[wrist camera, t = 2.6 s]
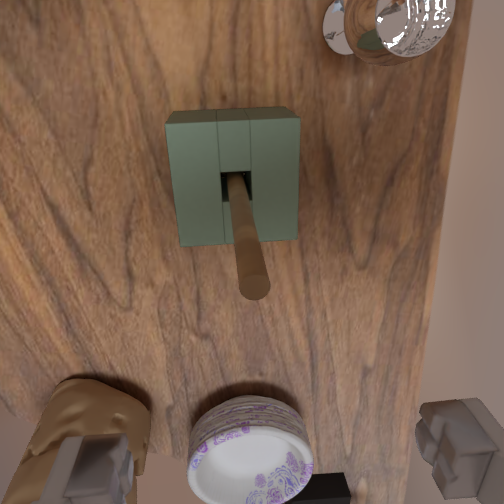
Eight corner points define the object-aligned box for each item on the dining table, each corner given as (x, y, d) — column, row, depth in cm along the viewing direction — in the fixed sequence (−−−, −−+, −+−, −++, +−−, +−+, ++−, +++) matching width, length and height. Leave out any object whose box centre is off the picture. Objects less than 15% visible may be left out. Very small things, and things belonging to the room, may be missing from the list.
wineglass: (329, -27, 31) (390, -70, 20) (393, -3, 32) (484, -32, 21) (305, 52, 33) (349, 51, 22) (366, 71, 34) (435, 79, 24)
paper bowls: (217, 364, 48) (218, 417, 41) (321, 395, 52) (338, 449, 45) (172, 442, 54) (166, 501, 46) (269, 465, 58) (277, 522, 51)
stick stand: (285, 106, 35) (300, 117, 29) (284, 210, 39) (297, 239, 33) (172, 111, 34) (164, 123, 28) (185, 216, 39) (180, 247, 33)
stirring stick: (239, 156, 37) (270, 273, 17) (240, 171, 37) (270, 299, 18) (224, 157, 37) (238, 275, 17) (225, 172, 37) (240, 302, 18)
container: (69, 446, 52) (6, 619, 36) (35, 377, 46) (-58, 547, 30) (163, 432, 52) (141, 597, 36) (141, 362, 47) (104, 521, 31)
